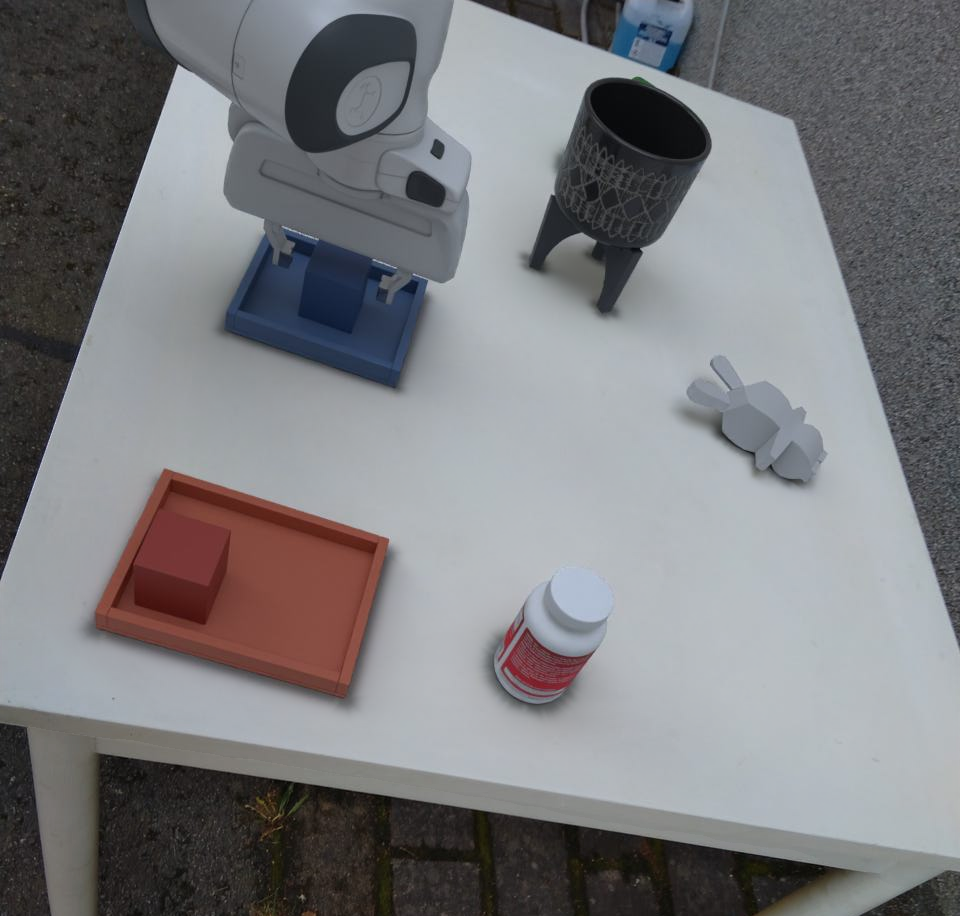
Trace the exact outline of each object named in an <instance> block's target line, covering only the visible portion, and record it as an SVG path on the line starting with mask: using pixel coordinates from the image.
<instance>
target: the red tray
mask: <svg viewBox="0 0 960 916" xmlns="http://www.w3.org/2000/svg"><path fill="white" fill-rule="evenodd" d="M159 509H163V510H166V511H169V512H173V513H176V514H179V515H182V516H186V517H189V518H192V519H196V520H199V521H202V522H205V523H209V524H212V525H215V526H218V527H222V528H225V529H228V530H231V536H230V545H229V554H228V563H227V571H226V574H225V576H224V579H223V581H222V584H221V587H220V589H219V592H218V594H217V597H216V599H215V602H214V604H213V607H212V609H211V612H210V614H209V617H208V619H207V622H206V624H205V625H203V624H200V623H197V622H193V621H190V620H186V619H183V618H179V617H176V616H172V615H169V614H165V613H162V612H159V611H155V610H152V609H148V608H145V607H141V606H138V605H135V598H134V565H133V564H134V562H135V559H136V557H137V555H138V553H139V551H140V549H141V547H142V544H143V542H144V540H145V538H146V536H147V534H148V532H149V530H150V527H151V525H152V523H153V521H154V519H155V517H156V515H157V513H158V510H159ZM389 542H390V538H388V537H385V536H381V535H379V534H375V533H373V532H370V531H366V530H364V529H360V528H357V527H355V526H351V525H347V524H344V523H341V522H338V521H334V520H332V519H328V518H326V517H325V518H324V517H321V516H319V515H315V514H312V513H309V512H305V511H303V510H299V509H296V508H292V507H289V506H286V505H283V504H280V503H277V502H274V501H270V500H267V499H264V498H261V497H258V496H255V495H252V494H249V493H245V492H243V491H238V490H235V489H232V488H230V487H226V486H223V485H219V484H216V483H213V482H210V481H207V480H203V479H200V478H197V477H194V476H191V475H188V474H185V473H182V472H177V471H175V470H173V469H172V470H171V469H168V468H163V470H162V472H161V473H160V476H159V478H158V480H157V482H156V484H155V486H154V488H153V491H152V492H151V494H150V497H149V499H148V501H147V503H146V505H145V507H144V509H143V511H142V513H141V515H140V517H139V519H138V521H137V524H136V525H135V527H134V530H133V532H132V534H131V536H130V538H129V540H128V542H127V543H126V547H125V548H124V551H123V552H122V555H121V557H120V559H119V561H118V563H117V565H116V567H115V569H114V571H113V573H112V575H111V577H110V580H109V581H108V584H107V585H106V588H105V590H104V592H103V595H102V596H101V598H100V600H99V602H98V605H97V606H96V609H95V611H94V620H95V628H96V629H100V630H102V631H106V632H110V633H114V634H116V635H120V636H124V637H127V638H131V639H134V640H139V641H142V642H145V643H149V644H151V645H156V646H159V647H163V648H167V649H170V650H174V651H177V652H181V653H184V654H187V655H191V656H195V657H197V658H201V659H205V660H208V661H212V662H216V663H219V664H222V665H225V666H226V665H227V666H230V667H233V668H237V669H240V670H244V671H247V672H251V673H253V674H258V675H261V676H265V677H268V678H272V679H275V680H280V681H283V682H286V683H290V684H293V685H297V686H300V687H304V688H308V689H311V690H315V691H318V692H321V693H325V694H329V695H332V696H336V697H339V698H343V699H345V698H346V696H347V693H348V690H349V687H350V685H351V681H352V678H353V674H354V671H355V667H356V663H357V659H358V656H359V653H360V648H361V645H362V641H363V637H364V634H365V630H366V627H367V623H368V620H369V616H370V612H371V608H372V605H373V601H374V597H375V594H376V590H377V586H378V583H379V580H380V576H381V573H382V569H383V565H384V562H385V557H386V554H387V550H388V547H389Z"/></svg>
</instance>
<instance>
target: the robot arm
mask: <svg viewBox="0 0 960 916" xmlns="http://www.w3.org/2000/svg"><path fill="white" fill-rule="evenodd" d="M124 2H125V6H126V10H127V13H128V16H129V19H130V21H131V24H132V25H133V27H134V29H135V31H136V33H137V34H138V35H139V37H140V38H141V40H142V41H143V42H144V43H145V44H146V45H147V46H148V47H149V48H151V49H152V50H154V51H155V52H156V53H158V54H160V55H161V56H163V57H165V58H166V59H168V60H170V61H172V62H173V63H174V64H176V65H178V66H180V68H183V69H185V71H188V72H190V73H192V74H194V75H195V76H197V77H198V78H199V79H201V80H202V81H204V82H205V83H206V84H208V85H209V86H210V87H212V89H214V90H216V91H217V92H218V93H220V94H221V95H222V96H224V97H225V98H226V99H228V100H229V101H230V105H229V108H228V115H227V116H228V118H227V130H228V136H229V137H230V139H231V141H232V142H233V143H232V146H231V149H230V152H229V155H228V159H227V163H226V164H227V165H226V169H225V174H224V180H223V186H222V193H223V196H224V197H225V200H226V201H227V202H228V204H229V206H230V207H231V208H232V209H235V210H236V211H239V212H242V213H245V214H248V215H251V216H253V217H256V218H259V219H261V220H263V231H264V234H265V233H266V235H267V237H268V239H269V241H270V243H271V245H272V247H273V248H274V254H273V262H272V263H273V264H275V265H278V266H281V267H284V268H287V269H289V268H290V264H291V263H292V261H293V257H294V253H293V252H294V250H295V244H296V243H294V242H292V241H289V240H287V238H286V236H285V233H284V230H283V228H285V229H288V230H291V231H294V232H296V233H299V234H302V235H305V236H308V237H310V238H313V239H316V240H322V241H325V242H328V243H330V244H333V245H336V246H339V247H341V248H344V249H347V250H350V251H353V252H355V253H358V254H361V255H364V256H366V257H369V258H372V259H373V260H374V261H376V262H379V263H382V264H385V265H387V266H390V267H393V268H396V269H397V270H396V274H394V275H393V276H392V277H389V276H386V275H383V276H382V278H381V282H380V284H379V287H378V291H377V295H376V299H375V300H377V301H380V302H382V303H385V304H388V305H390V306H391V303H392V300H393V297H394V294H395V292H397V291H398V290H399V289H401V288H402V287H403V286H405V285H406V284H407V283H409V282H410V280H411V277H412V275H415V276H418V277H420V278H424V279H427V280H429V281H433V282H435V283H438V284H445V283H447V282H449V281H451V280H452V279H454V278H455V276H456V272H457V270H458V266H459V263H460V259H461V256H462V251H463V247H464V243H465V239H466V234H467V228H468V223H469V222H468V221H469V215H470V214H469V213H470V197H469V193H468V190H467V187H468V184H469V180H470V176H471V170H472V154H471V152H470V151H469V150H468V148H467V147H466V146H464V145H463V144H462V143H461V142H460V141H458V140H456V139H455V138H454V137H453V136H452V135H451V134H449V133H448V132H446V131H445V130H444V129H443V128H442V127H440V126H439V125H438V124H436V123H435V122H434V121H433V120H432V119H431V118H430V117H428V113H429V88H430V84H431V81H432V78H433V77H434V75H435V73H436V71H437V70H438V68H439V66H440V64H441V62H442V61H441V60H442V59H443V54H444V50H445V45H446V41H447V38H448V34H449V29H450V24H451V20H452V14H453V10H454V4H455V0H124Z"/></svg>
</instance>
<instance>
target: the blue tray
mask: <svg viewBox="0 0 960 916" xmlns="http://www.w3.org/2000/svg"><path fill="white" fill-rule="evenodd" d="M282 228H283V230H284V233H285V236H286V238H287V240H289V241H292V242H294V243H296V244H295V250H294V252H293V253H294V257H293V261H292V263H291V264H290V268H289V269H287V268H284V267H281V266H278V265H275V264H273V263H272V262H273V254H274V248H273V247H272V245H271V243H270V241H269V239H268V237H267V235H266V233H265V232H264V234H263V236H262V239H261V241H260V243H259V244H258V247H257V249H256V251H255V253H254V255H253V257H252V259H251V261H250V263H249V265H248V267H247V269H246V271H245V273H244V275H243V277H242V278H241V281H240V284H239V285H238V287H237V289H236V291H235V293H234V296H233V297H232V299H231V301H230V303H229V305H228V307H227V309H226V312H225V322H224V324H225V325H224V330H225V331H227V332H230V333H233V334H236V335H239V336H242V337H245V338H248V339H250V340H254V341H257V342H259V343H263V344H265V345H269V346H272V347H275V348H276V349H279V350H283V351H285V352H289V353H291V354H294V355H297V356H301V357H303V358H307V359H310V360H313V361H315V362H318V363H321V364H324V365H327V366H330V367H333V368H336V369H339V370H342V371H345V372H348V373H351V374H354V375H356V376H360V377H362V378H366V379H368V380H370V381H371V380H372V381H374V382H377V383H381V384H383V385H387V386H389V387H392V388H396V387H397V385H398V381H399V378H400V375H401V372H402V368H403V365H404V362H405V358H406V355H407V352H408V349H409V346H410V342H411V339H412V337H413V336H412V335H413V332H414V329H415V326H416V323H417V320H418V317H419V313H420V310H421V307H422V303H423V300H424V297H425V294H426V290H427V287H428V283H429V279H427V278H424V277H421V276H419V275H416V274H412V277H411V280H410V282H409V283H407V284H406V285H405V286H403V287H402V288H401V289H399V290H398V291H397V292H395V294H394V297H393V300H392V303H391V306H390V305H388V304H385V303H382V302H380V301H377V300H375V299H376V295H377V291H378V287H379V284H380V282H381V278H382V276H383V275H386V276H389V277H392V276H393V275H394V274H396V270H397V267H394V266H391V265H388V264H386V263H383V262H380V261H377V260H375V259H373V261H372V265H371V269H370V274H369V278H368V282H367V287H366V291H365V296H364V300H363V303H362V306H361V308H360V311H359V314H358V317H357V319H356V322H355V325H354V327H353V330H352V333H351V334H350V333H347V332H344V331H341V330H339V329H336V328H333V327H330V326H327V325H324V324H321V323H318V322H316V321H313V320H310V319H307V318H304V317H301V316H299V315H298V312H299V306H300V300H301V293H302V287H303V281H304V275H305V270H306V267H307V265H308V263H309V260H310V258H311V256H312V254H313V251H314V249H315V247H316V244H317V242H318V240H319V239H316V238H314V237H311V236H308V235H305V234H302V233H300V232H297V231H294V230H291V229H289V228H286V227H282Z"/></svg>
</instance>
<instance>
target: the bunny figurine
mask: <svg viewBox="0 0 960 916" xmlns="http://www.w3.org/2000/svg"><path fill="white" fill-rule="evenodd" d="M709 366H710V367H711V369H712V370H713V372H714V373H715V374H716V375H717V376H718V378H719V379H720V380H721V381H722V383H723V384H724V385H725V386H726V387H727V388H728V389H729V391H727V392H725V391H723V390H722V389H720V388H719V387H716V386H715V385H713V384H711V383H709V382H707V381H705V380H704V379H701V378H695V380H693V381H692V383H691V384H690V385H689V386H688V387H687V388H686V396H687V397H688V399H689V400H690V401H691V402H693V403H694V404H697V405H699V406H703V407H706V408H708V409H711V410H712V409H713V410H715V411H718V412H721V413H722V422H721V423H722V425H721V432H722V433H723V434H724V435H725V436H726V437H727V438H728V439H729V440H730V441H731V442H732V443H733V444H735V445H736V446H737V447H739V448H741V449H742V450H743V451H748V452H752V453H754V454H755V455H754V456H755V468H757V469H758V470H760V471H762V472H764V471H766V469H767V468H768V467H770V466H771V467H772V470H773V471H774V473H776V474H777V476H779V477H781V478H785V479H787V480H802V481H803V483H804V484H805V483H807V482H808V481H810V480H811V479H812V478H813V477H814V476H815V475H816V474H817V472H818V471H819V470H820V467H822V465H821V464H822V463H823V462H824V461H825V459H826V458H827V456H828V455H829V454H828V452H826V450H824V440H823V437H822V435H821V432H820V430H819V429H818V428H817V427H815V426H814V425H812V424H809V423H805V419H806V416H807V411H806V409H805V408H804V406H799V407H797V408H794V409H793V408H792V405H791V403H790V400H789V398H788V397H787V396H786V395H785V394H784V393H783V392H782V391H781V390H780V389H779V388H777V387H776V386H775V385H773V383H770V382H769V381H768V380H762V381H759V382H754V383H751V384H747V385H745V384H744V382H743V381H742V380H741V378H740V377H739V374H738V373H737V371H736V370H735V368H734V366H733V364H732V363H731V362H730V360H729V359H728V358H727V356H725V355H722V354H716V355H714V356H713V357H712V358H711V360H710V361H709Z"/></svg>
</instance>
